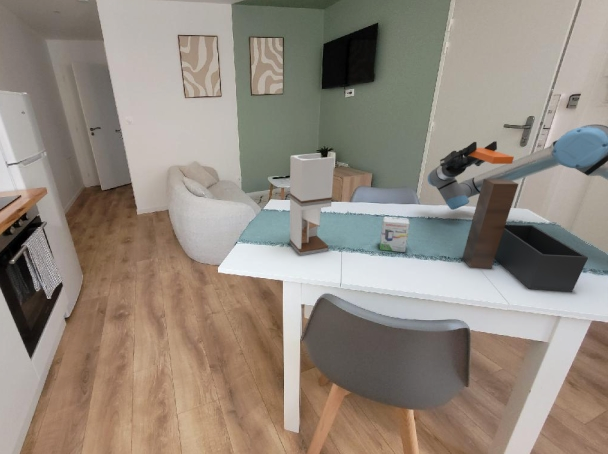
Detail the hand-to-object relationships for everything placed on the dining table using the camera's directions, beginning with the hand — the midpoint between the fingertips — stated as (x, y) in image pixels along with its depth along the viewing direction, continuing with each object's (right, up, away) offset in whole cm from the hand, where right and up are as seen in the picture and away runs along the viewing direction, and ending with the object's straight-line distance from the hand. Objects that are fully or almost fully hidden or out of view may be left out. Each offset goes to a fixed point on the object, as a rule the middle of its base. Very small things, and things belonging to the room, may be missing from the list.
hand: (485, 145), depth 94 cm
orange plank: (0, -4, -1) cm, 4 cm away
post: (-1, -39, +2) cm, 39 cm away
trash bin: (+11, -40, -3) cm, 42 cm away
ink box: (-23, -35, +15) cm, 44 cm away
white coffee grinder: (-54, -35, +19) cm, 67 cm away
